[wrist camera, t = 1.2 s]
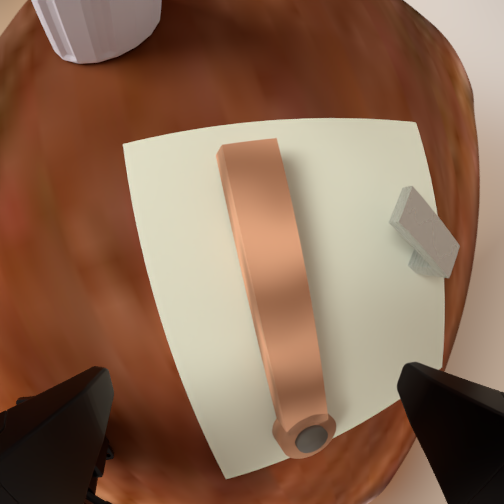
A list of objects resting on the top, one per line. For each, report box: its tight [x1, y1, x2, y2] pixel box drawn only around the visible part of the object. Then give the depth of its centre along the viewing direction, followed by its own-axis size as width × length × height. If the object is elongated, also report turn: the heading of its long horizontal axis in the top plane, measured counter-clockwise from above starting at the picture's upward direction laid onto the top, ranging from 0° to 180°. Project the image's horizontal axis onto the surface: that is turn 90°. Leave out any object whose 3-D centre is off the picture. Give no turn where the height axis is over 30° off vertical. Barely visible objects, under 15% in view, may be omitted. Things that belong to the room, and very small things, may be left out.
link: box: [216, 138, 336, 459], centre depth 17 cm, size 22×4×2 cm, turn 15°
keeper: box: [389, 186, 460, 278], centre depth 20 cm, size 3×8×5 cm, turn 60°
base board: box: [123, 118, 445, 479], centre depth 20 cm, size 25×26×1 cm
